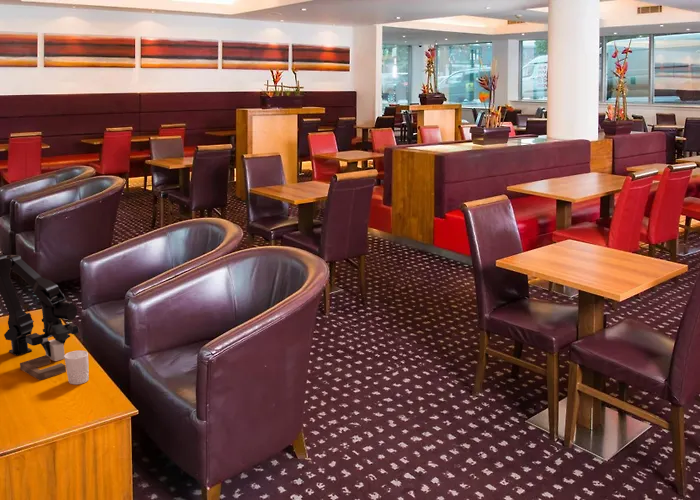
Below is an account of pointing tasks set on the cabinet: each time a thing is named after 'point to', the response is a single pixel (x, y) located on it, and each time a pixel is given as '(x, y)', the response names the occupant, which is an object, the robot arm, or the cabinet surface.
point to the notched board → (41, 374)
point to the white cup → (77, 366)
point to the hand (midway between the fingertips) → (55, 354)
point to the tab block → (56, 350)
